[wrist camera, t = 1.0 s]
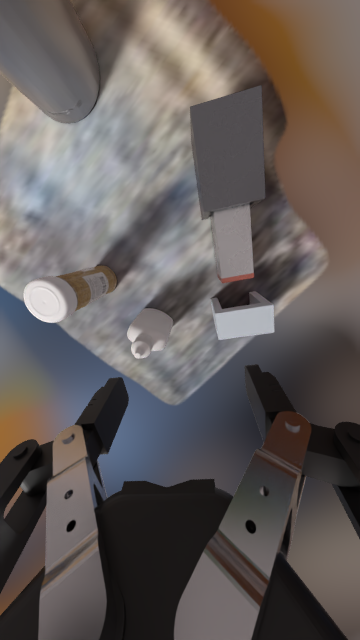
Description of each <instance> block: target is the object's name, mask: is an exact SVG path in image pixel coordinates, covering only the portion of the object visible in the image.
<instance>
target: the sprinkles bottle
mask: <svg viewBox="0 0 360 640" xmlns="http://www.w3.org/2000/svg"><path fill="white" fill-rule="evenodd" d="M116 284H117V279H116V275H115V274H114V272H113V271H112V270H111V269H110V268H108V267H106V266H96V267H94V268H88V269H83V270H79V271H76V272H73V273H69V274H65V275H60V276H56V277H54V276H48V277H43V278H39V279H35V280H33V281H31V282H30V283H28V285H27V286H26V287H25V290H24V301H25V304H26V306H27V308H28V310H29V311H30V312H31V313H32V314H33V315H34V316H35V317H37V318H38V319H40V320H42V321H45V322H50V323H55V322H59V321H61V320H63V319H65V318H67V317H69V316H70V315H72V314H73V313H74V312H75V311H76V310H78V309H80V308H82V307H85V306H86V305H88V304H90V303H92V302H94V301H95V300H97V299H99V298H101V297H103V296H104V295H105V294H107V293H110V292H112V291H113V290H114V289H115V287H116Z"/></svg>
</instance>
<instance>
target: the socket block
mask: <svg viewBox="0 0 360 640" xmlns="http://www.w3.org/2000/svg"><path fill="white" fill-rule="evenodd" d="M249 300H250V305H245V306H238V307H232V308H225V309H222V308H221V306H220V303H219V301H218V299H217V298H211V304H212V311H213V318H214V323H215V327H216V331H217V335H218V339H219V340H222V339H229V338H237V337H244V336H251V335H259V334H265V333H272V332H273V333H274V305H273V304H272V303H271V302H269V301H268V300H267V299H265V298H264V297H263V296H261V295H260V294H259V293H257V292H256V291H253V292H249Z"/></svg>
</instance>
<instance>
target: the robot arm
mask: <svg viewBox="0 0 360 640" xmlns="http://www.w3.org/2000/svg"><path fill="white" fill-rule="evenodd" d="M0 74H1V75H2V76H3V77H4V78H5V79H7V80H8V81H9V82H10V83H11V84H12V85H13V86H15V87H16V88H17V89H18V90H19V91H20V92H21V93H22V94H23V95H25V96H26V97H27V98H28V99H29V100H30V101H31V102H33V103H34V104H35V105H36V106H37V107H38V108H39V109H41V110H42V111H43V112H44V113H45V114H46V115H48V116H49V117H51V118H52V119H53V120H56V121H58V122H61V123H68V124H69V123H75V122H78V121H80V120H82V119H83V118H84V117H86V116H87V115H88V114H89V112H90V111H91V109H92V108H93V106H94V104H95V102H96V99H97V96H98V91H99V82H100V74H99V65H98V61H97V57H96V53H95V50H94V48H93V46H92V43H91V41H90V39H89V37H88V35H87V33H86V31H85V29H84V27H83V25H82V23H81V21H80V19H79V18H78V16H77V14H76V12H75V10H74V8H73V6H72V4H71V2H70V0H0ZM245 383H246V391H247V395H248V398H249V401H250V404H251V407H252V409H253V413H254V415H255V418H256V421H257V424H258V427H259V430H260V433H261V436H262V438H263V441H264V444H263V446H262V448H261V449H257V450H256V451H255V453H254V455H253V457H252V459H251V461H250V463H249V465H248V467H247V469H246V471H245V473H244V476H243V478H242V480H241V482H240V484H239V486H238V488H237V490H236V492H235V494H234V497H233V496H232V495H230V494H229V493H227V492H225V491H223V490H221V489H218V488H215V482H214V479H202V480H201V479H200V480H189V481H186V482H183V483H180V484H177V485H174V486H171V487H163V486H160V485H157V484H153V483H150V482H147V481H127V482H126V481H125V482H124V484H123V487H122V491H119V492H117V493H115V494H113V495H112V496H110V497H108V498H107V495H106V491H105V487H104V483H103V479H102V475H101V470H100V467H99V463H98V461H97V459H98V457H99V455H100V454H108V452H109V450H110V447H111V445H112V442H113V440H114V438H115V435H116V433H117V430H118V428H119V425H120V423H121V420H122V418H123V415H124V413H125V411H126V408H127V406H128V401H129V397H128V393H127V390H126V387H125V384H124V381H123V379H122V378H121V377H118V378H110V379H109V380H108V381H107V383H106V385H105V386H104V387H101V388H100V389H99V390H98V391H97V392H96V393H95V394H94V396H93V397H92V399H91V400H90V402H89V404H88V406H86V408H85V409H84V411H83V413H82V414H81V416H80V417H79V419H78V420H77V422H76V423H75V425H73V426H70V427H68V428H66V429H65V430H63V431H62V432H60V433H59V434H58V435H57V437H56V438H55V440H54V441H51V442H48V443H46V444H43V445H40V446H39V444H38V443H37V441H36V440H33V439H31V440H27V441H24V442H22V443H21V444H19V445H17V446H16V447H15V448H14V449H12V450H11V451H10V452H9V453H8V455H7V456H6V457H5V458H4V459H3V461H2V462H1V463H0V593H1V591H2V589H3V587H4V585H5V583H6V582H7V580H8V578H9V576H10V574H11V572H12V570H13V568H14V566H15V564H16V562H17V561H18V558H19V557H20V555H21V553H22V551H23V549H24V547H25V545H26V543H27V541H28V539H29V537H30V535H31V534H32V532H33V530H34V528H35V526H36V524H37V522H38V520H39V518H40V516H41V514H42V512H43V510H44V509H45V506H46V505H47V511H46V513H47V514H46V517H47V518H46V562H45V564H46V565H45V566H44V567H43V568H42V570H41V571H40V572H39V573H38V574H37V575H36V576H35V577H34V578H33V580H32V581H31V582H30V583H29V584H28V585H27V586H26V587H25V589H24V590H23V591H22V592H21V593H20V594H19V595H18V597H17V598H16V599H15V600H14V601H13V602H12V603H11V604H10V606H8V608H7V609H6V610H5V611H4V612H3V613H2V614H1V615H0V640H348V639H347V638H346V636H345V635H344V634H343V632H342V631H341V630H340V629H339V628H338V626H337V625H336V624H335V622H334V621H333V620H332V618H331V617H330V616H329V615H328V613H327V612H326V611H325V609H324V608H323V607H322V606H321V604H320V603H319V602H318V601H317V599H316V598H315V597H314V595H313V594H312V593H311V591H310V590H309V589H308V588H307V586H306V585H305V584H304V582H303V581H302V580H301V579H300V577H299V576H298V575H297V574H296V572H295V571H294V570H293V568H292V567H291V566H290V565H289V563H288V562H287V559H288V555H289V551H290V546H291V542H292V537H293V533H294V528H295V521H296V517H297V512H298V508H299V503H300V499H301V495H302V491H303V487H304V482H305V478H306V476H308V477H311V478H315V479H318V480H322V481H325V482H328V483H331V484H332V486H333V488H334V490H335V491H336V494H337V496H338V497H339V499H340V501H341V503H342V505H343V507H344V509H345V511H346V513H347V515H348V517H349V519H350V521H351V523H352V525H353V527H354V529H355V531H356V533H357V535H358V536H359V539H360V425H358V424H356V423H351V422H341V423H338V424H337V425H336V426H335V429H332V428H327V427H322V426H317V425H314V424H311V423H309V422H308V420H307V419H306V418H305V417H303V416H302V415H300V414H298V413H297V412H296V411H295V409H294V408H293V406H292V404H291V403H290V401H289V399H288V397H287V396H286V394H285V392H284V391H283V389H282V388H281V386H280V385H279V382H278V381H277V379H276V378H275V377H274V376H273V375H272V374H270V373H269V372H262V371H261V370H260V368H259V366H258V365H257V364H256V365H247V366H245ZM19 487H21V488H22V489H23V491H22V493H21V494H20V496H19V497H18V499H17V501H16V502H15V503H14V505H13V507H12V508H11V510H10V511H9V513H8V514H7V516H6V518H5V519H4V517H3V516H4V511H5V508H6V506H7V504H8V503H9V502H10V500H11V499H12V497H13V496H14V494H15V493H16V491H17V490H18V488H19Z"/></svg>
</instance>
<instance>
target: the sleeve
mask: <svg viewBox="0 0 360 640" xmlns="http://www.w3.org/2000/svg"><path fill="white" fill-rule="evenodd" d="M190 118H191V143H192V151H193V158H194V165H195V173H196V180H197V187H198V195H199V202H200V209H201V216H202V220H204V219H208V217H209V215H210V212H212V211H216V210H221V209H225V208H229V207H234V206H238V205H243V204H247V203H250V208H252V207H253V206H255V205H256V204H258V203H259V202H261V201H262V200H263V199H265V173H264V143H263V114H262V85H260V86H257V87H254V88H250V89H247V90H244V91H240V92H237V93H234V94H231V95H227V96H224V97H221V98H217V99H214V100H211V101H208V102H204V103H201V104H198V105H194V106H191V107H190Z"/></svg>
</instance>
